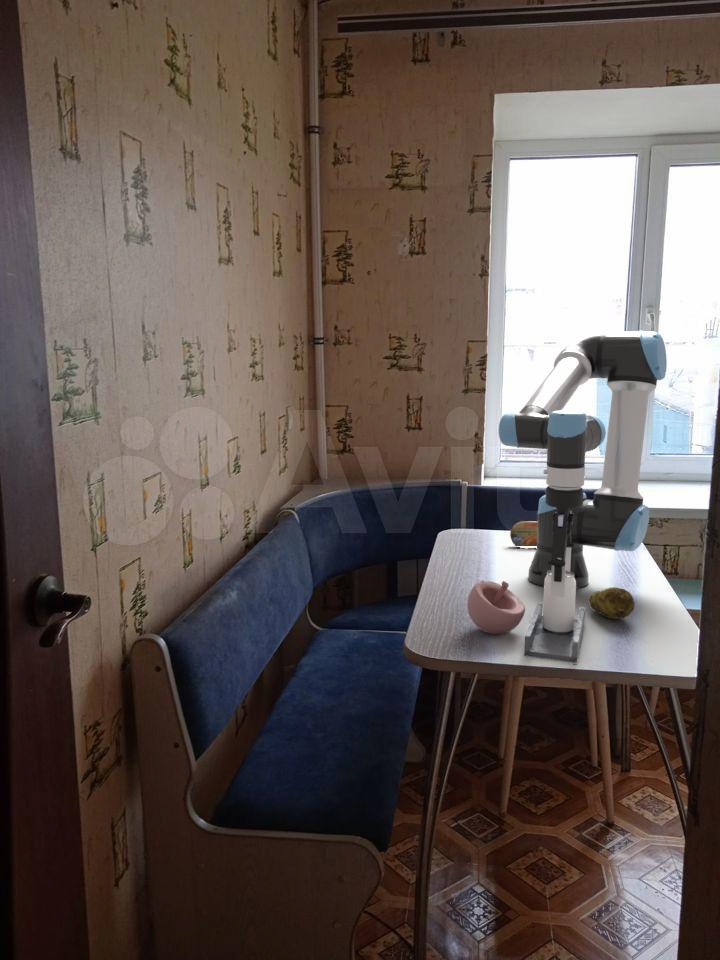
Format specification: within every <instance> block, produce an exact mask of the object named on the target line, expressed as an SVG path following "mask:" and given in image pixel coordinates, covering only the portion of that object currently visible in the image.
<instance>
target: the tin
mask: <svg viewBox="0 0 720 960" xmlns="http://www.w3.org/2000/svg"><path fill="white" fill-rule="evenodd" d="M537 522H538V520H537V521H531V520H528V521H527V520H526V521H525V520H524V521H523V520H521V521H519V522H517V523H515V524H514V525H513V526H512V527H511V530H510V533H509V534H510V535H509V537H510V539H511V542H512V543H513V545H514V546H515V547H516V546H537Z"/></svg>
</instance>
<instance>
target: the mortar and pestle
mask: <svg viewBox="0 0 720 960" xmlns="http://www.w3.org/2000/svg"><path fill="white" fill-rule="evenodd" d="M525 607H526V606H525V604H524V603H523V601H522V600H521V599H520V598H519V597H518V596H517V595H516V594H514V592H512V591H511V590H509V582H507V581H505V580H502V582H501V584H499V583H497V582H495V581H491V580H479V581H478V582H477V583H475V584H474V586H473V587H472V588H471V589H470V592H469V594H468V597H467V606H466V608H467V613H468V614H469V617H470V619H471V621H472V623H473V624H475V626H477V628H478V629H480V631H482V632H485V633H488V634H492V635H502V634H506V633H508V632H511V631H512V630H514V629H515V628H516V627H517V626H519V624H520V623H521V621H522V620H523V619H524V615H525V612H526V608H525Z"/></svg>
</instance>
